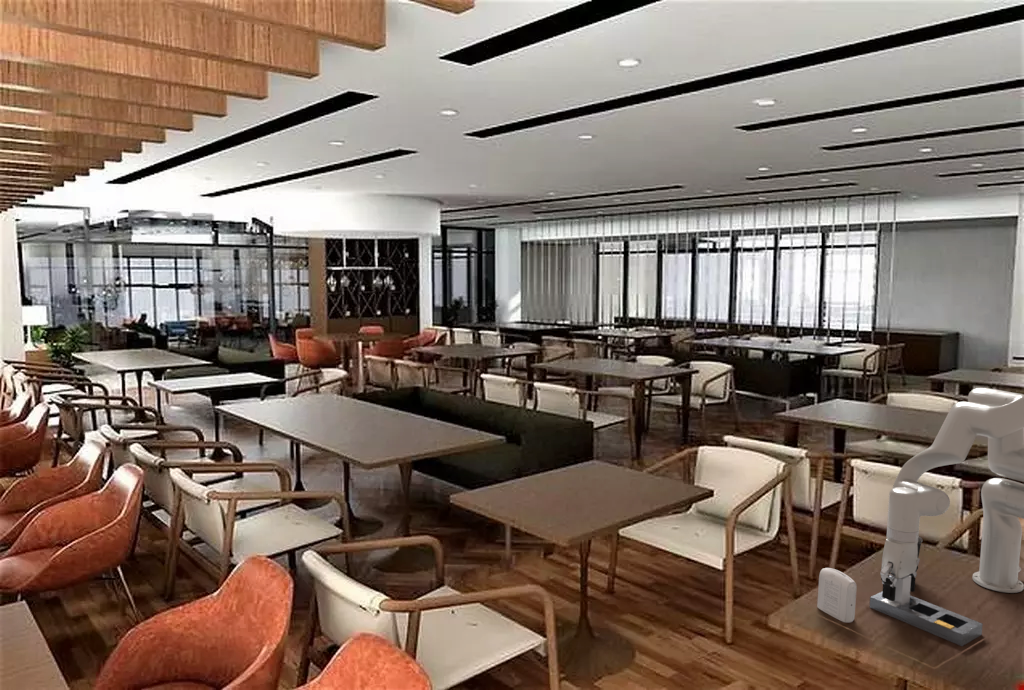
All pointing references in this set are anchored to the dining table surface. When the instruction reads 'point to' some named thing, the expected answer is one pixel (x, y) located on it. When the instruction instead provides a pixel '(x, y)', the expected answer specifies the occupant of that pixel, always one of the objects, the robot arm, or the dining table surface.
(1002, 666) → the dining table surface
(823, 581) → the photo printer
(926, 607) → the socket panel
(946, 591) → the dining table surface
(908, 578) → the plug
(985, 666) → the dining table surface
